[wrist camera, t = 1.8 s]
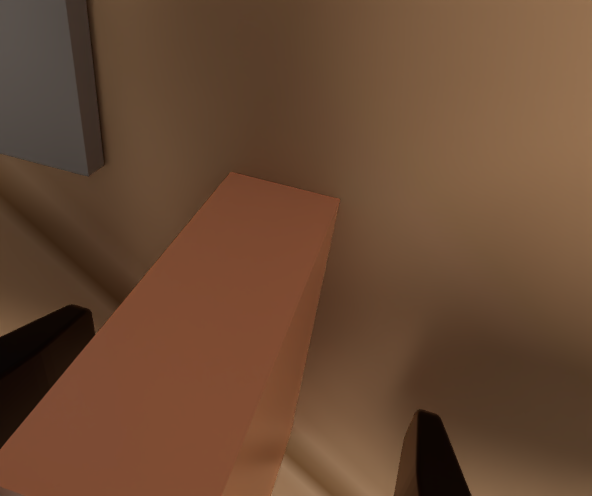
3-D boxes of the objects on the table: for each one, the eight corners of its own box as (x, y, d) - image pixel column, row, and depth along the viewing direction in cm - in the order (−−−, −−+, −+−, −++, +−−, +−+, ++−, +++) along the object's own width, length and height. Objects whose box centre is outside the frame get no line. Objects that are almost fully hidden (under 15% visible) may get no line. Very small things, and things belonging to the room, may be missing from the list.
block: (291, 431, 13) (191, 743, 8) (217, 408, 13) (80, 697, 8) (340, 197, 9) (196, 557, 4) (231, 170, 9) (-24, 478, 4)
